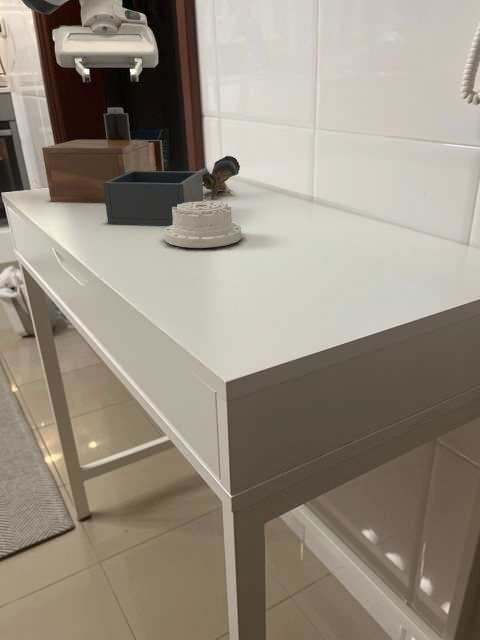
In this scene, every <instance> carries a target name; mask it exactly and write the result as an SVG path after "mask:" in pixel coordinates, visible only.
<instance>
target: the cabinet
mask: <svg viewBox="0 0 480 640" xmlns="http://www.w3.org/2000/svg"><path fill="white" fill-rule="evenodd" d="M148 140H149V139H130V140H107V139H74V140H73V139H72V140H69V141H66V142H65V141H64V142H61V143H56V144H52V145H47V146H43V147H41V150H42V157H43V162H44V163H43V164H44V169H45V174H46V180H47V186H48V187H47V188H48V193H49V198H50V202H51V203H52V202H53V203H54V202H55V203H56V202H57V203H59V202H60V203H97V204H98V203H100V204H101V203H104V204H105V196H104V188H103V183H104V182H106V181H109V180H111V179H113V178H115V177H118V176H120V175H122V174H125V173H127V172H129V171H151V165H150V154H149V143H148Z"/></svg>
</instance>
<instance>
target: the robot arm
mask: <svg viewBox="0 0 480 640" xmlns="http://www.w3.org/2000/svg"><path fill="white" fill-rule="evenodd" d="M68 1H69V0H21V2H22V3H23V5H25V6H26V8H28V9H30V10H32V11H34V12H35V13H39V14H42V15H48V16H49V15H52V13H53V12H55V11H56V10H58V9H59V8H60V7H62V6H64V4H65V3H67V2H68ZM78 1H79V5H80V21H81V25H59V26H58V27H56V28H54V29H52V33H51V35H52V41H53V42H54V54H55V59H56V63H57V64H58V65H59V66H60V67H61V68H75V71H76V72H77V73H78V74H79V75H80V76H81V77H82V82H83V83H91V73H90V68H130V69H129V72H130V73H129V74H130V81H131V83H132V82H134V83H136V82H139V81H140V79H139V76H140V74H141V73H142V71H143V68H156V66H157V65H158V64H159V50H158V45H157V41H156V37H155V34H154V32H153V30H152V29H151V28H150V27H149V26H148V20H147V16H146V15H145V14H144V13H141V12H138V11H134V10H131V9H128V8H125V7H123V0H78Z"/></svg>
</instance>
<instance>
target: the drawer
mask: <svg viewBox="0 0 480 640" xmlns="http://www.w3.org/2000/svg"><path fill="white" fill-rule="evenodd" d="M147 140H148V143H149V154H150V165H151V171H165V169H164V168H165V165H164V153H163V141H162V140H161V139H147Z"/></svg>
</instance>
